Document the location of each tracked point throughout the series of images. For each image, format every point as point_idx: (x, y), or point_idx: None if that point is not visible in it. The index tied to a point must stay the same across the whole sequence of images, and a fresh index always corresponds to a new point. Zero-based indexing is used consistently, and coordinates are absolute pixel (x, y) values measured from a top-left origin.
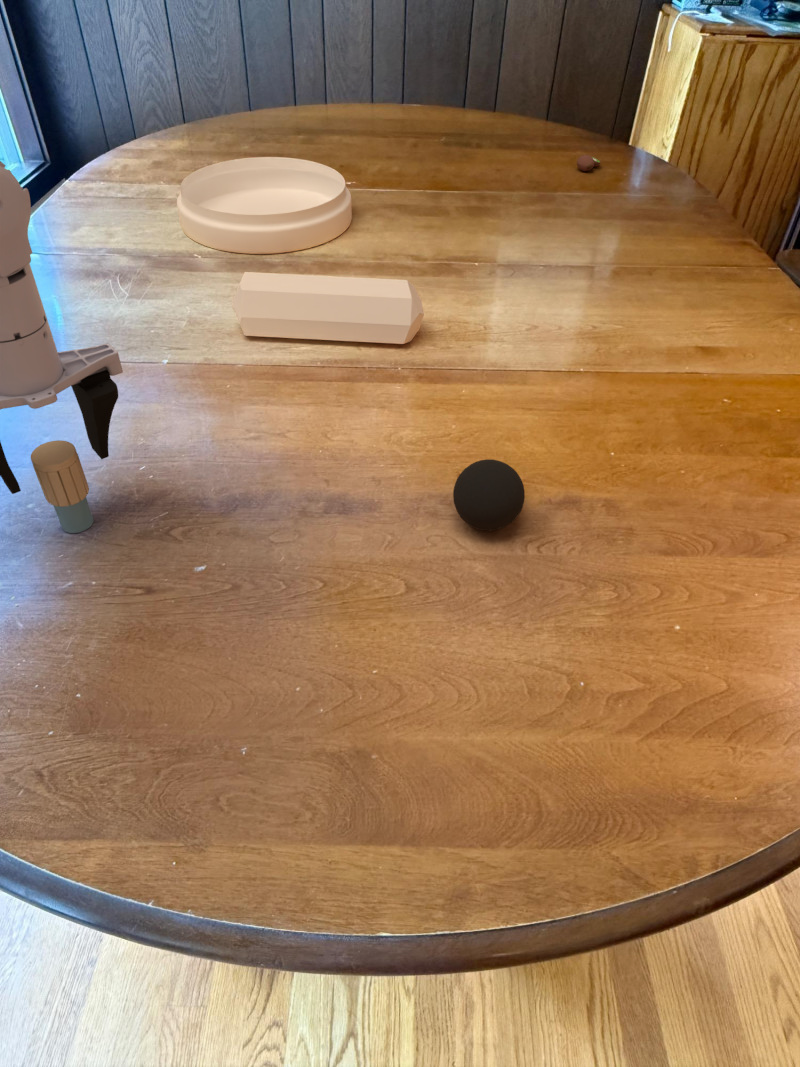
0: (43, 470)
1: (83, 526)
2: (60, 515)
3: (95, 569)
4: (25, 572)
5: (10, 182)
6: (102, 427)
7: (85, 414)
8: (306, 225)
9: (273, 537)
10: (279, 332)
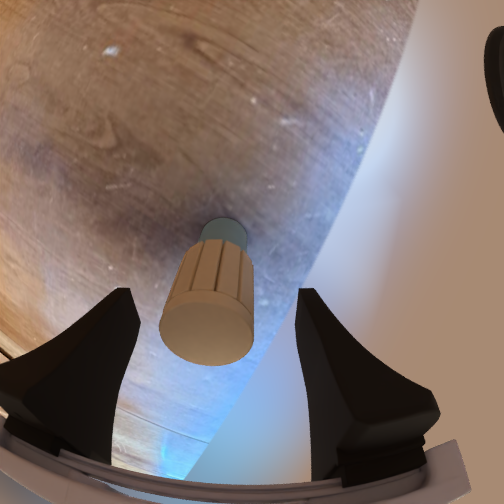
0: (242, 306)
1: (219, 220)
2: (243, 246)
3: (240, 126)
4: (326, 186)
5: None
6: (77, 332)
7: (107, 380)
8: (4, 413)
9: (26, 76)
10: (2, 358)
